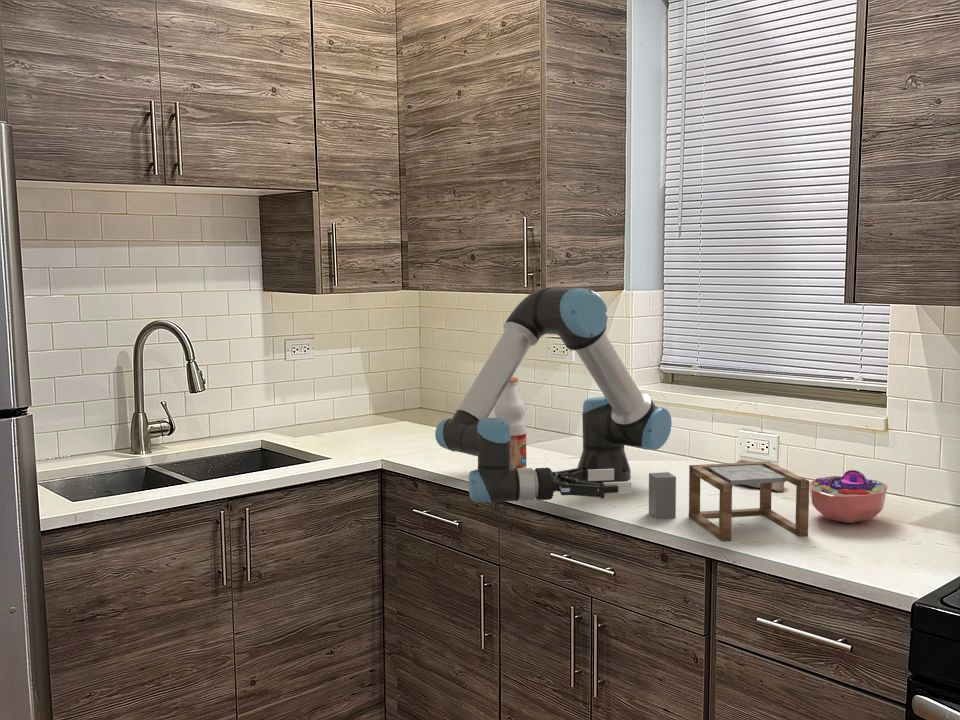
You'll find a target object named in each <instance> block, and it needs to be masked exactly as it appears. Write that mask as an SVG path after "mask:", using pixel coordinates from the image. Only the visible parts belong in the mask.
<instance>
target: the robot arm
mask: <svg viewBox="0 0 960 720" xmlns="http://www.w3.org/2000/svg"><path fill="white" fill-rule="evenodd" d="M607 312H608V307H607V304H606V303H605V301H604V299H603V298H602V296H601V295H600V294H599V293H597V292H595V291H594V290H592V289H586V288H580V287H574V288H569V287H568V288H566V287H565V288H563V287H562V288H561V287H559V288H558V287H557V288H556V287H543V288H542V287H541V288H539V289H536V290H535V291H532V292H531V293H530V294H528V295H527V296H526V297H525V298H523V299H522V300H521V301H520V302H519V303H518V304H517V306H516V307H515V308H514V309H513V310H512V312H511V313H510V315H509V316H508V317H507V319H506V321H505V322H504V324H503V330H504V331H503V333H502V335H501V336H500V337H499V340H498V342H497V343H496V345H495V346H494V348H493V350H492V351H491V353H490V354H489V356H488V358H487V360H486V361H485V363H484V365H483V366H482V368H481V370H480V371H479V373H478V374H477V376H476V378H475V379H474V381H473V383H472V384H471V386H470V388H469V389H468V391H467V393H466V394H465V396H464V398H463V400H462V401H461V402H460V404H459V406H458V408H457V410H456V411H455V412H454V414H453V416H452V417H451V418H444V419H442V420H441V421H439V422H438V424H437V425H436V428H435V431H434V432H435V433H434V437H435V440H436V444H438V445H439V446H440V447H441V448H442V449H445V450H449V451H451V452H454V453H455V452H457V453H463V454H467V455H470V456H473V457H477V468H476V469H475V470H471V471H470V472H469V474H468V493H469V498H470V499H471V501H472V502H474V503H489V504H490V503H498V502H499V503H500V502H517V501H518V502H519V501H520V503H522V504H524V503H525V502H526V501H534V500H535V499H536V500H537V501H549V500H552V499H553V496H554V493H555V492H560V496H575V497H578V496H579V497H592V498H600V499H603V500H604V499H605V495H606V496H607V495H609V496H610V495H628V494H629V495H630V494H631V495H632V481H629V480H630V479H631V476H632V475H631V473H632V472H631V467H630V463H629V461H628V458H627V454H626V452H625V451H626V450H625V446H626V447H627V446H628V447H632V448H638V449H642V450H645V451H646V450H652V451H657V450H658V449H661V448H662V447H663V446H664V445H665V444H666V443H667V441H668V439H669V436H670V434H671V430H672V425H673V424H672V416H671V413H670V411H669V410H668V409H667V408H665V407H663V406H657V405H655V403H654V401H653V400H652V398H651V397H650V395H649V394H648V393H646V392H644V391H640V389H639V387H638V386H637V383H636V382H635V381H634V379H633V378H632V376H631V374H630V373H629V371H628V369H627V368H626V366H625V364H624V363H623V361H622V359H621V358H620V356H619V354H618V353H617V350H616V349H615V348H614V345H613V344H612V343H611V341H610V339H609V338H608V336H607V333H606V332H607V328H608V327H607V326H608V325H607V324H608V323H607V322H608V319H609V318H608V315H607ZM546 334H547V335H556V336H558V337H559V338H560V339H561V341H562V343H563V344H564V346H565V347H566V348H567V349H568V350H570V351H575V352H576V353H577V355H578V357H579V358H580V360H581V361H582V363H583V365H584V366H585V368H586V369H587V371H588V372H589V374H590V376H591V377H592V379H593V381H594V382H595V383H596V385H597V386H598V389H599V390H600V392H601V393H602V394H603V396H596V397H595V396H594V397H590V398H587V399H585V400H584V401H583V404H582V414H581V415H582V418H581V419H582V452H581V455H580V458H579V461H578V463H577V467H575V468H571V469H566V470H565V469H564V470H559V471H552V469H551V468H550V467H536V468H534V469H533V468H532V467H527V468H522V469H510V439H511V436H510V426H509V422H508V421H507V420H506V419H502V418H496V417H489V416H490V415H491V414H492V411H494V406H495V405H496V403H497V401H498V400H499V398H500V396H501V395H502V393H503V391H504V390H505V388H506V386H507V385H508V383H509V381H510V379H511V378H512V377H514V374H515V372H516V371H517V369H518V368H519V366H520V364H521V362H522V361H523V359H524V358H525V356H526V354H527V352H528V351H529V349H530V347H533V346H536V345H537V343H538V342H539V340H540V339H541V337H543V336H545V335H546Z"/></svg>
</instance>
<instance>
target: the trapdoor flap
mask: <svg viewBox="0 0 960 720" xmlns="http://www.w3.org/2000/svg"><path fill="white" fill-rule="evenodd" d="M705 470H707V471H709V472H710V473H712V474H714V475H716V476H717V477H719V478H721V479H723V480H724V481H726V482H728V483H729V484H731V485H732V486H734V485H736V486H737V485H743V484H755V483H774V482H784V483H786V482H787V481H786V477H784V476H782V475H780V474H778V473H776V472H774V471H772V470H770V469H768V468H766V467H764V465H744V466H724V467H705Z"/></svg>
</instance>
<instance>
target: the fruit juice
mask: <svg viewBox="0 0 960 720" xmlns="http://www.w3.org/2000/svg"><path fill="white" fill-rule="evenodd" d="M518 379H519V378H518V377H516V376H512V378H511V379H510V381H509V383H508V385H507V386H506V388H505V390H504V391H503V393H502V395H501V396H500V398H499V400H498V401H497V403H496V405H495V406H494V408H493V413H494V416H495V417H494V418H502V419H506V420H507V421H508V422H509V426H510V436H511V439H510V469H522V468H528V467H527V424H526V421H525V414H526V403H525V402H524V400H523V399H522V398H521V396H520V394H519V391H518V386H517V385H518V384H519V383H518V382H519V380H518Z"/></svg>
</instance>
